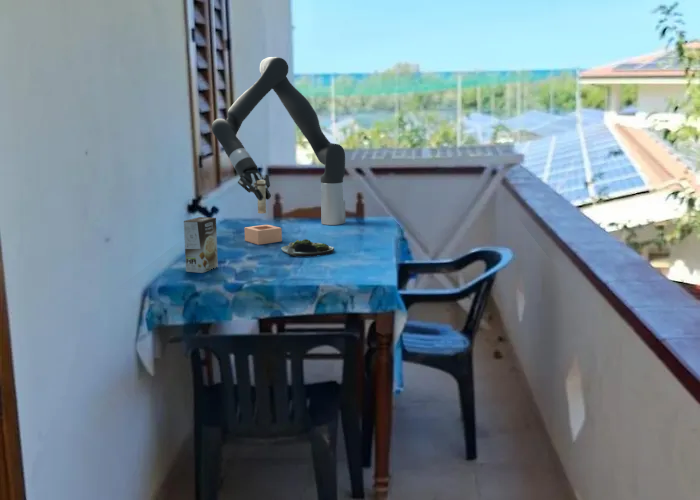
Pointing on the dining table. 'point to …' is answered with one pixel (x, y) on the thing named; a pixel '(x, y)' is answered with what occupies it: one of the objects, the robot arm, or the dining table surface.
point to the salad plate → (307, 248)
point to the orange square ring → (263, 234)
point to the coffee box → (200, 244)
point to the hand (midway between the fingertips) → (265, 198)
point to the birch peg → (262, 203)
